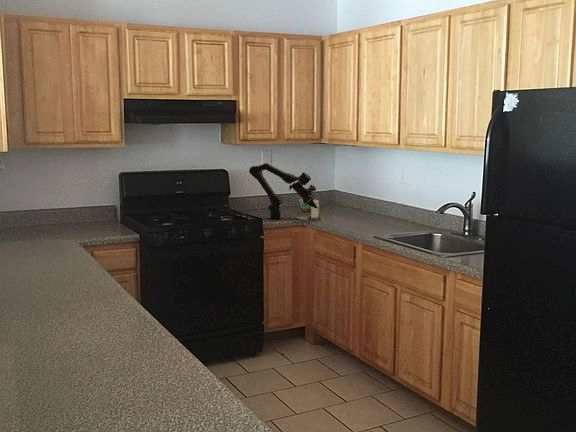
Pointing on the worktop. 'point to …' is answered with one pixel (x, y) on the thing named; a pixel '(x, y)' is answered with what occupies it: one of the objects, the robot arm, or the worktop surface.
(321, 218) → the board
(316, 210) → the plug
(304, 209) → the food container
